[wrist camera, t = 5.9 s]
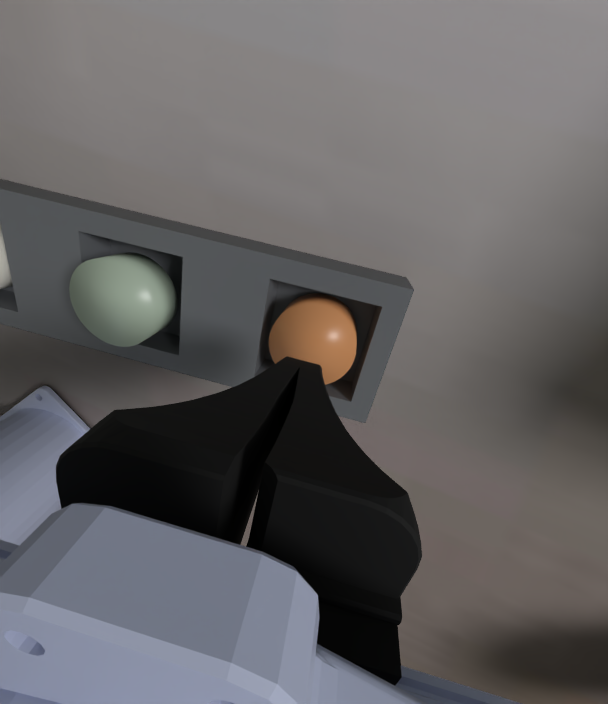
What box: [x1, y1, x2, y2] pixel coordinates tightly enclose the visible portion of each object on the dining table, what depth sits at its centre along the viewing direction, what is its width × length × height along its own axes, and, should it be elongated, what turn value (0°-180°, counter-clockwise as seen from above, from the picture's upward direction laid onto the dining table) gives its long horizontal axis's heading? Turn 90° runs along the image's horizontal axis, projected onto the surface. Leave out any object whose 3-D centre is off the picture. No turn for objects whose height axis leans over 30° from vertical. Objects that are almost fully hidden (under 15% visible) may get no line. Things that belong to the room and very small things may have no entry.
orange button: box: [269, 293, 357, 385], centre depth 15 cm, size 4×4×2 cm
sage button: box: [69, 252, 177, 347], centre depth 15 cm, size 4×4×2 cm
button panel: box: [0, 179, 414, 423], centre depth 17 cm, size 25×7×2 cm, turn 78°
